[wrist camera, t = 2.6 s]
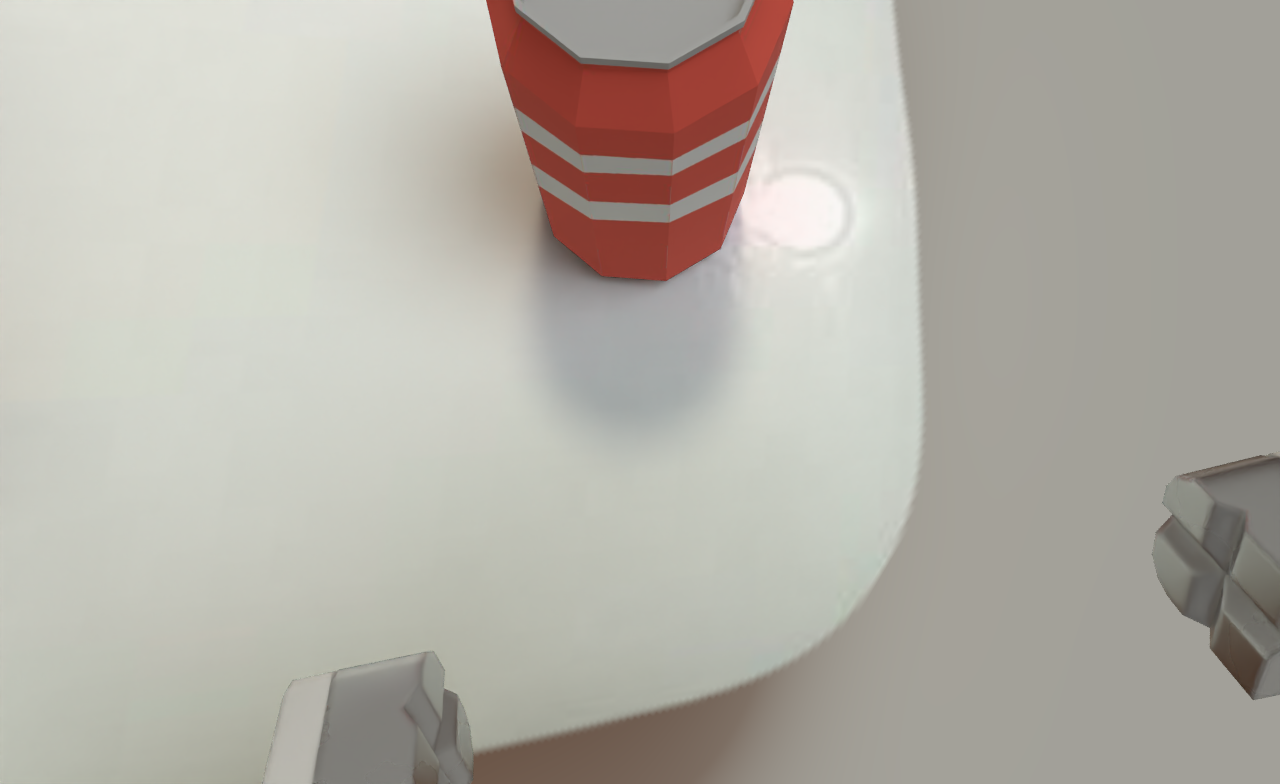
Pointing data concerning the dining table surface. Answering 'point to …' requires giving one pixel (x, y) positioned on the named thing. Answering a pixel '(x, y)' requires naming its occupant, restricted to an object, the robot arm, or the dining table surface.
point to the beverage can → (640, 119)
